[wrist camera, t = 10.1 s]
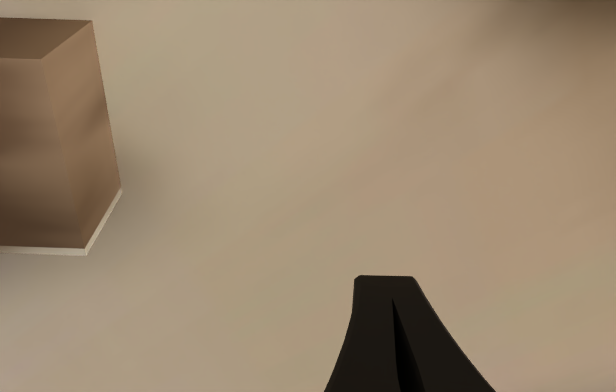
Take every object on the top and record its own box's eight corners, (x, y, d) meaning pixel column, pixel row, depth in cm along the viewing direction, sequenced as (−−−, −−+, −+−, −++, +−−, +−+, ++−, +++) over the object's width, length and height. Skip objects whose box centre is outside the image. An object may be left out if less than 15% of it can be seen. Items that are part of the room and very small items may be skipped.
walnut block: (-65, 250, 19) (-145, 52, 15) (-5, 188, 22) (-60, 15, 18) (86, 256, 19) (40, 59, 15) (122, 192, 22) (92, 20, 18)
